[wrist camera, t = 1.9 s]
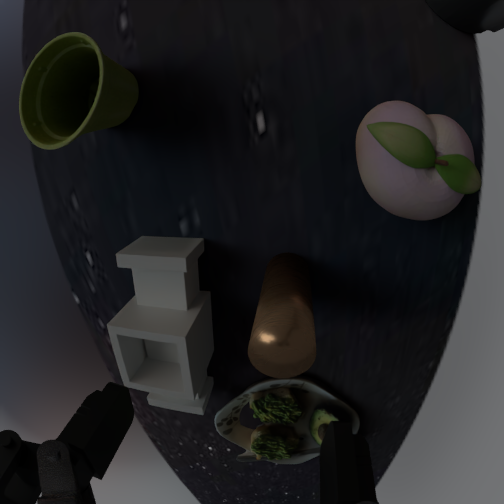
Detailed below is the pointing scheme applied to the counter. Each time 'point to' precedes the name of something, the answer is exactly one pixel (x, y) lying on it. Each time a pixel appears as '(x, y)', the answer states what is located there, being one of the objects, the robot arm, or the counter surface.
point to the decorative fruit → (415, 161)
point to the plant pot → (73, 92)
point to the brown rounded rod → (284, 320)
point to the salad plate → (284, 419)
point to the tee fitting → (165, 324)
